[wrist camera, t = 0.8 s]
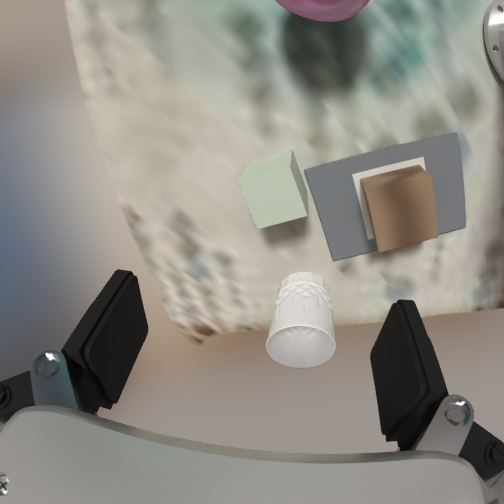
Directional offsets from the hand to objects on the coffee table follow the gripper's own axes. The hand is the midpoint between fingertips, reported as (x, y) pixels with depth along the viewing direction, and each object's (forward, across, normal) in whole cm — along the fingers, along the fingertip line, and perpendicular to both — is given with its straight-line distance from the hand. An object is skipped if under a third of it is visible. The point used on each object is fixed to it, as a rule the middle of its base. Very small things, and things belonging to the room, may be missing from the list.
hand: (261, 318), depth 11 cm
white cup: (+25, -5, +19) cm, 32 cm away
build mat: (+24, -13, +4) cm, 28 cm away
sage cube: (+25, 0, +3) cm, 25 cm away
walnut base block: (+24, -13, +4) cm, 27 cm away
